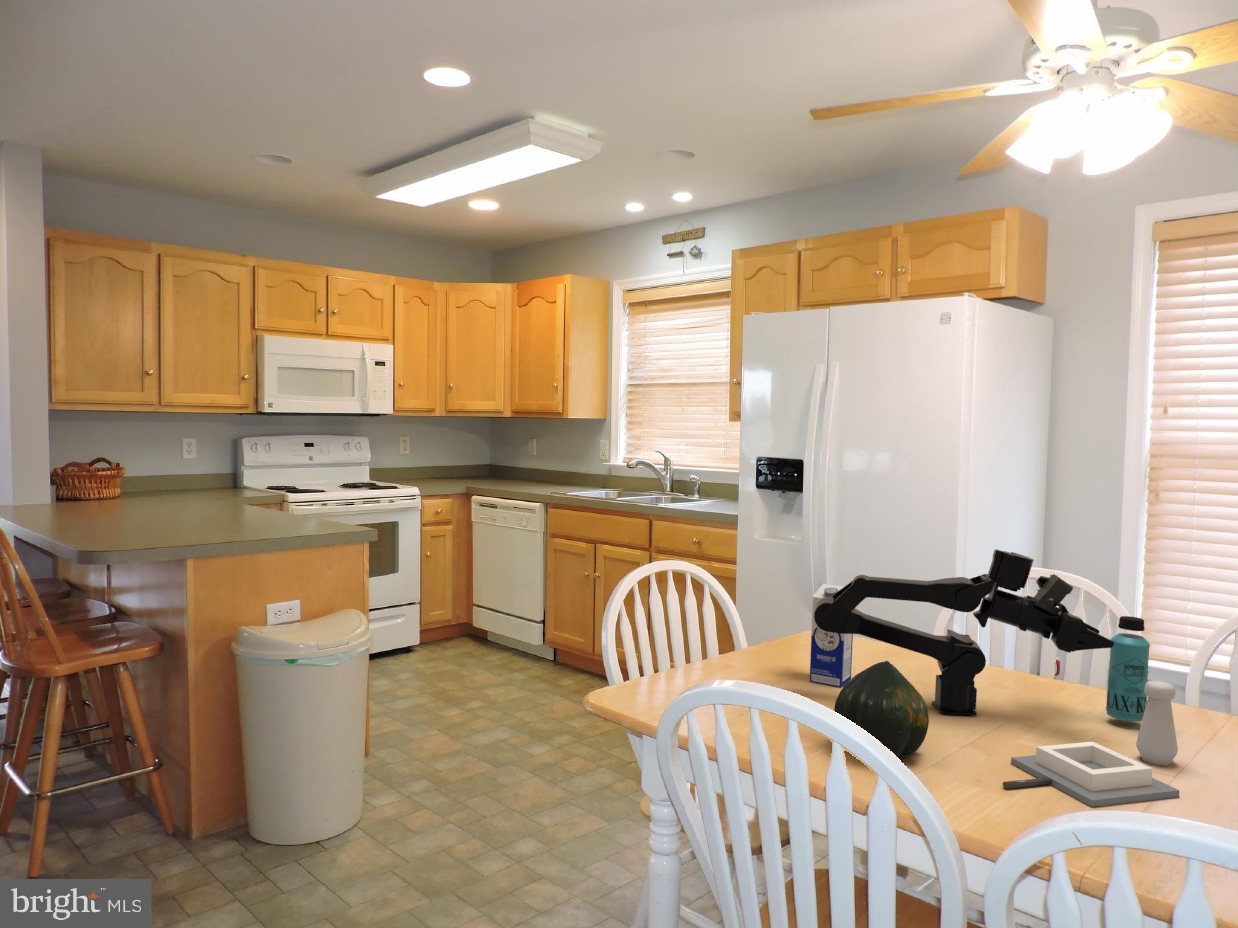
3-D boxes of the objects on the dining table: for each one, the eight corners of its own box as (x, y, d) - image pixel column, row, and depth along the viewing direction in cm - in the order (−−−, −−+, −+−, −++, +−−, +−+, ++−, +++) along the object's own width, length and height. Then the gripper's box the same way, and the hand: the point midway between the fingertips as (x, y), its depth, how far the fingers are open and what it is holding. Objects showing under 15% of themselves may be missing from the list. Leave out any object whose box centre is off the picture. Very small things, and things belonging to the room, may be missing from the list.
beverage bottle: (1096, 717, 160) (1102, 612, 159) (1130, 717, 160) (1136, 613, 159) (1120, 730, 153) (1126, 620, 152) (1154, 730, 154) (1161, 621, 153)
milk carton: (851, 680, 179) (855, 586, 178) (841, 688, 174) (845, 591, 173) (819, 674, 183) (823, 582, 182) (808, 681, 177) (812, 587, 177)
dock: (1045, 812, 118) (1046, 787, 118) (968, 767, 134) (969, 745, 133) (1179, 796, 125) (1180, 773, 125) (1091, 755, 140) (1092, 734, 140)
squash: (862, 739, 129) (914, 661, 133) (804, 712, 143) (852, 641, 147) (915, 791, 134) (964, 713, 138) (853, 759, 147) (899, 690, 151)
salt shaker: (1183, 769, 135) (1188, 689, 135) (1143, 765, 136) (1148, 686, 136) (1167, 756, 141) (1171, 679, 141) (1129, 752, 142) (1133, 676, 142)
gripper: (1041, 578, 148) (1137, 607, 144) (1020, 562, 166) (1105, 588, 162) (1021, 637, 149) (1115, 667, 146) (1002, 616, 167) (1086, 642, 164)
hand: (1105, 638), depth 154 cm, fingers open, 9 cm apart
